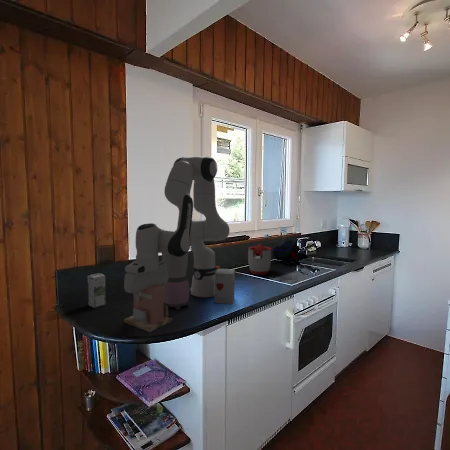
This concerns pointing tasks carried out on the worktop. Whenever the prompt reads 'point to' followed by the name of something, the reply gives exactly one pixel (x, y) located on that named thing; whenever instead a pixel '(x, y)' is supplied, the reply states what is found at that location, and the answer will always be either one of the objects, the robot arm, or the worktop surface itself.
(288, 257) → the dark blue bag
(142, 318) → the grey thin rectangular slab
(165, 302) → the blender
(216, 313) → the worktop surface
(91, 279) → the syrup box
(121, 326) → the worktop surface
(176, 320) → the worktop surface
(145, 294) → the boxed book
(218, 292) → the supplement box
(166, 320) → the beige panel with ridge
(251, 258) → the citrus juicer
